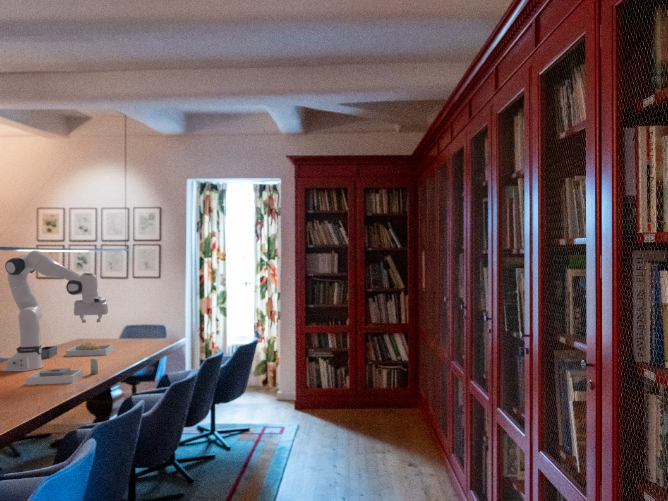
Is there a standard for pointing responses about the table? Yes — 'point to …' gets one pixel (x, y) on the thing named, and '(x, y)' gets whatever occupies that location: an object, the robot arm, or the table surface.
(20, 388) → the table surface
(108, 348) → the shell tray
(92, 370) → the peg
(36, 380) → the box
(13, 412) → the table surface
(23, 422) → the table surface
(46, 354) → the dark grey open bin
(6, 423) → the table surface
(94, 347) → the nautilus
